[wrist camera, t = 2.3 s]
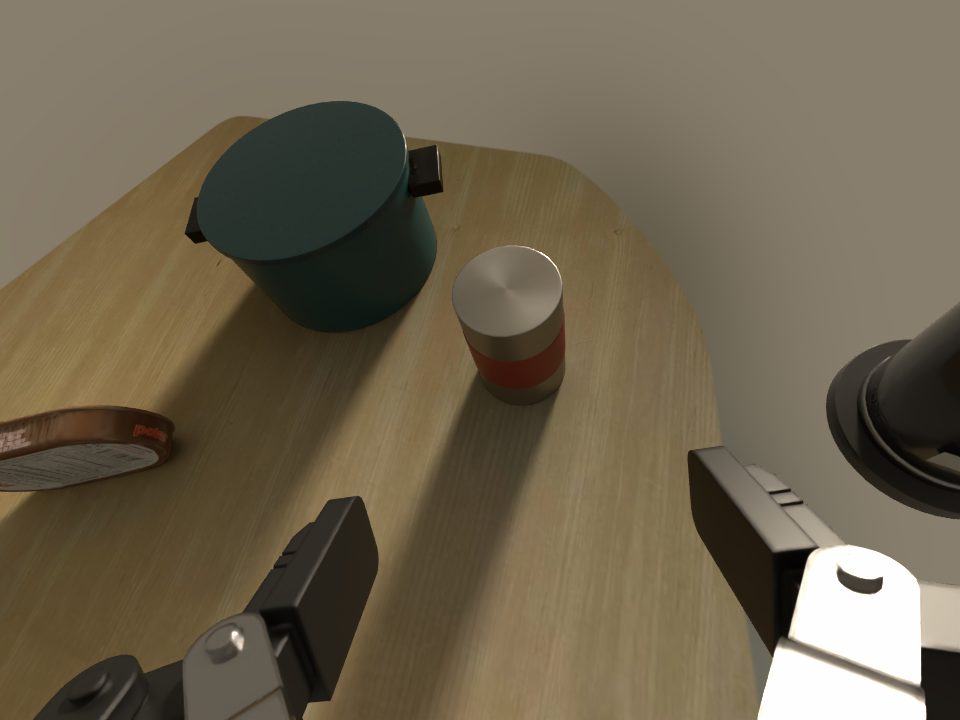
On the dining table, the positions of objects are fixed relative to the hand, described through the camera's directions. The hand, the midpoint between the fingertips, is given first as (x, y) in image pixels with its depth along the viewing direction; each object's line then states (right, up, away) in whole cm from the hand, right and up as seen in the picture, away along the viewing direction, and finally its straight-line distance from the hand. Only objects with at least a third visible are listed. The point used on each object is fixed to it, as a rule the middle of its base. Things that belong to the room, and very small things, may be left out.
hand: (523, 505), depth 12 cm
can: (+2, +3, +24) cm, 25 cm away
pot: (-13, +13, +33) cm, 37 cm away
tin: (-31, -5, +27) cm, 41 cm away
